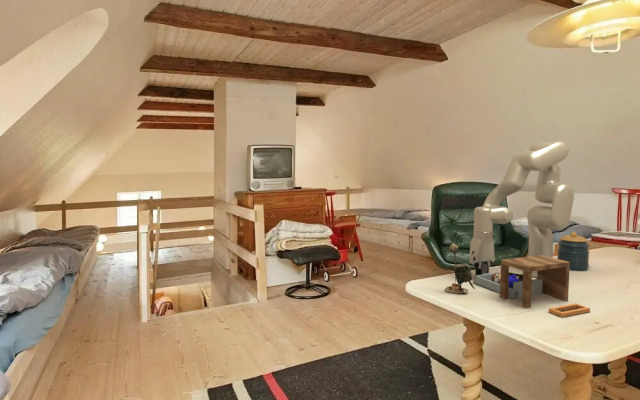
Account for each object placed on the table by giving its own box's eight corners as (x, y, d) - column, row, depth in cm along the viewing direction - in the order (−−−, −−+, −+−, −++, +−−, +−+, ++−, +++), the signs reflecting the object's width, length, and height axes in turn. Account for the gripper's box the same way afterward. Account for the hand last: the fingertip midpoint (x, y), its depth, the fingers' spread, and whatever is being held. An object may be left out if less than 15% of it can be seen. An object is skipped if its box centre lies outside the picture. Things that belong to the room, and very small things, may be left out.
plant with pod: (469, 297, 145) (470, 246, 144) (441, 291, 153) (442, 242, 151) (477, 292, 151) (478, 243, 149) (450, 286, 159) (450, 239, 157)
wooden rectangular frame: (575, 307, 134) (575, 303, 134) (589, 312, 130) (590, 308, 129) (548, 312, 130) (548, 308, 130) (562, 317, 125) (562, 313, 125)
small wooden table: (539, 291, 152) (540, 255, 151) (568, 300, 141) (569, 262, 139) (499, 297, 145) (500, 259, 144) (526, 308, 134) (528, 267, 132)
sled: (491, 276, 171) (491, 261, 171) (542, 294, 147) (542, 276, 146) (467, 280, 167) (467, 264, 166) (515, 298, 142) (516, 280, 142)
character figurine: (528, 297, 145) (489, 289, 156) (535, 292, 150) (497, 284, 161) (528, 278, 144) (488, 270, 155) (535, 273, 149) (496, 266, 160)
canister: (588, 266, 187) (589, 231, 186) (589, 272, 177) (590, 235, 175) (557, 263, 195) (558, 228, 193) (556, 268, 184) (557, 232, 182)
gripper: (491, 232, 172) (490, 272, 174) (461, 235, 167) (460, 276, 168) (504, 235, 165) (503, 276, 167) (474, 238, 159) (473, 281, 161)
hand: (481, 276), depth 167 cm, fingers closed on sled, 3 cm apart
